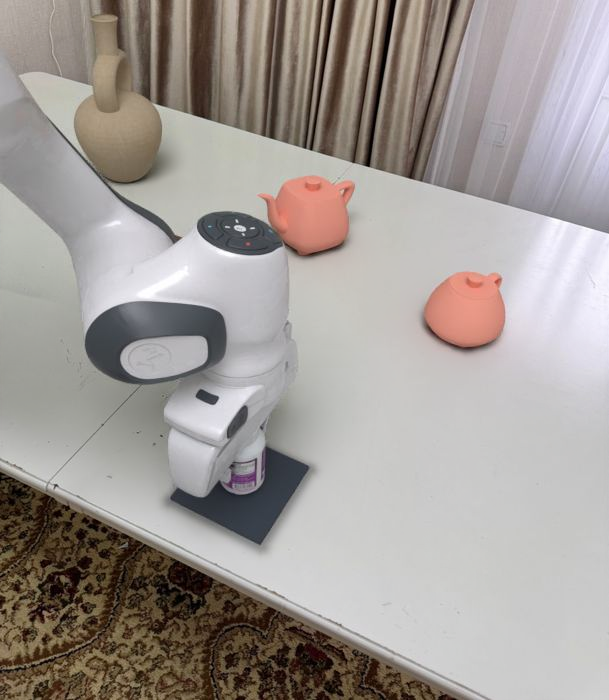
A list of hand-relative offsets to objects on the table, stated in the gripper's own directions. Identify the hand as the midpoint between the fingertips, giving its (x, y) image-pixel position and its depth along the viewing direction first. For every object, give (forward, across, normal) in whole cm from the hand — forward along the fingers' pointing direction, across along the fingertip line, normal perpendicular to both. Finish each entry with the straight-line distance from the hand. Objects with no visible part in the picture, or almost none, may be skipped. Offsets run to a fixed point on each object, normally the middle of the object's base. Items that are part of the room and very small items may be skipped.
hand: (241, 455), depth 70 cm
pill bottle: (+4, 0, 0) cm, 4 cm away
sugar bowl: (+6, -43, +15) cm, 46 cm away
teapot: (+6, -52, -18) cm, 55 cm away
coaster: (+5, 0, 0) cm, 5 cm away
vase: (+6, -54, -61) cm, 82 cm away
